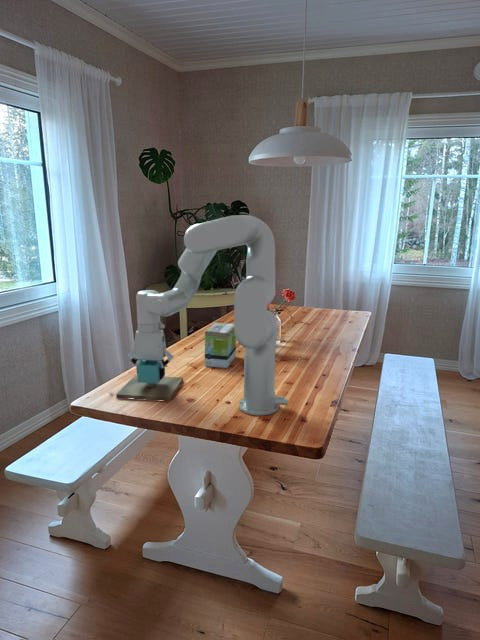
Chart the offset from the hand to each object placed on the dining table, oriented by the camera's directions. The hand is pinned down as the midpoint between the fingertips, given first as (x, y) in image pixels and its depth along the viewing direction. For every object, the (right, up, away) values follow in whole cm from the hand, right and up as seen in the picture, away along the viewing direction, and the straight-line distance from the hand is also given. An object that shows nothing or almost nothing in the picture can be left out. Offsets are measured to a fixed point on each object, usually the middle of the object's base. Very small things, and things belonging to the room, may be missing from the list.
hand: (151, 376), depth 154 cm
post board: (0, -5, +1) cm, 5 cm away
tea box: (+23, +2, +31) cm, 38 cm away
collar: (0, -1, 0) cm, 1 cm away
